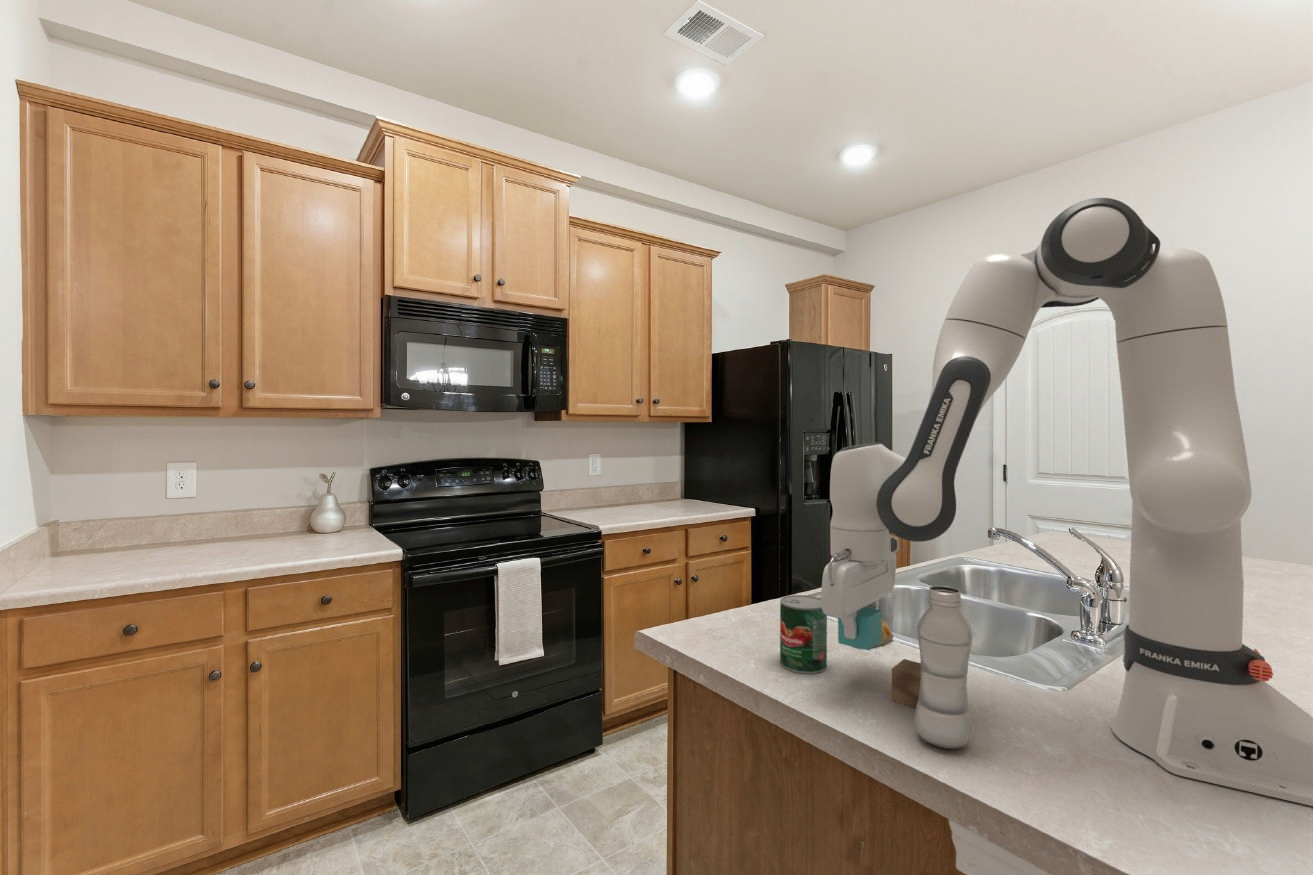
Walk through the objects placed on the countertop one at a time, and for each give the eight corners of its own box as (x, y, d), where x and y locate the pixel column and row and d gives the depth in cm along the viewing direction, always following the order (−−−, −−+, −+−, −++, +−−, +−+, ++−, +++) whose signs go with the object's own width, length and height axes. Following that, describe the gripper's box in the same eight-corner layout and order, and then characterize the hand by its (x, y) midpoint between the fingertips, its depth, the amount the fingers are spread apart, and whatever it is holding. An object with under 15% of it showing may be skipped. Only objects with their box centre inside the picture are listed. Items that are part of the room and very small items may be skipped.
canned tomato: (830, 660, 107) (831, 598, 106) (822, 677, 100) (823, 610, 99) (785, 653, 110) (785, 592, 110) (774, 669, 103) (775, 604, 103)
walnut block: (937, 700, 91) (937, 667, 91) (926, 712, 88) (926, 677, 88) (903, 690, 95) (904, 658, 95) (891, 701, 91) (891, 668, 91)
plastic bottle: (922, 724, 84) (924, 580, 83) (976, 741, 80) (979, 588, 79) (907, 743, 79) (909, 590, 78) (964, 762, 75) (967, 599, 74)
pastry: (872, 653, 110) (872, 632, 110) (838, 644, 115) (838, 624, 115) (895, 641, 117) (895, 621, 117) (862, 632, 122) (862, 613, 122)
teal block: (881, 641, 97) (881, 610, 97) (869, 650, 93) (868, 617, 93) (851, 635, 100) (851, 604, 100) (838, 643, 97) (837, 611, 97)
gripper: (850, 558, 87) (851, 655, 87) (902, 538, 102) (903, 620, 102) (809, 552, 91) (810, 645, 91) (865, 534, 106) (866, 613, 106)
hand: (860, 632), depth 97 cm, fingers closed on teal block, 5 cm apart
